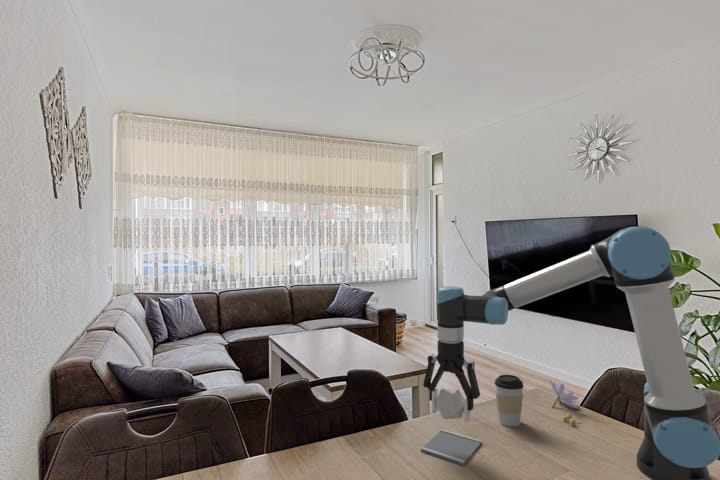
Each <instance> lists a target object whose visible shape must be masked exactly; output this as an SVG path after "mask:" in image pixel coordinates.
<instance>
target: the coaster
mask: <svg viewBox="0 0 720 480" xmlns="http://www.w3.org/2000/svg"><path fill="white" fill-rule="evenodd" d="M482 444H483V440H480V439H477V438H475V437H470V436H467V435H464V434H460V433H457V432H453V431H449V430H445V429H440V431H438V432H437V434H435V435H434V436H433V437H432V438H431V439H430V440H428V442H427V443H426V444H425V445H423V446H421V447H420V452H422V453H425V454H428V455H431V456H433V457H438V458H440V459H444V460H447V461H450V462H452V463H455V464H459V465H461V466H465V465H466V463H467V462H468V461H469V460H470V459H471V457H472V456H473V455H474V454H475V453H476V451H477V450H478V449H479V447H480V446H481V445H482Z"/></svg>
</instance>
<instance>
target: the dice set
mask: <svg viewBox="0 0 720 480" xmlns="http://www.w3.org/2000/svg"><path fill="white" fill-rule="evenodd" d="M568 420H569V426H570V427H575V425H576V424H581V421H580V420H576V419H575V418H573V415H572V414H570V413H567V414H566V415H563V416H562V422H564V423H568ZM575 423H576V424H575Z"/></svg>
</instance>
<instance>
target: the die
mask: <svg viewBox="0 0 720 480" xmlns="http://www.w3.org/2000/svg"><path fill="white" fill-rule="evenodd" d="M464 399H465V397H464V396H463V395H462V393H461V391H460V389H459V388H441V389H440V391H439V392H438V398H437V401H436V403H435V404H436V406H437V408H438V412H439V413H440V415H441V417H442V419H443V420H453V419H455V420H456V419H458V420H459V419H462V417H463V416H464V415H463V414H464Z"/></svg>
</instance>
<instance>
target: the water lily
mask: <svg viewBox="0 0 720 480" xmlns="http://www.w3.org/2000/svg"><path fill="white" fill-rule="evenodd" d="M548 381H549V383H550V384H549V386H550V388H551V390H552V391H553V392H554V394H555V398H556V399H555V401H554V402H553V403H552V406H551V408H553V407H554V408H555V406H556V404H557V402H558V401H560V402H561V401H563V402H564V403H565V404H566V405H568V406H570V407H572V408H574V409H576V410H580V408H579V407H578V406H576V405H575V404H578V402H576V400H577V401H578V400H579V397H577V396H575V395H574V392H571V391H568V392H565V385H564V383H563V382H559V381H556V382H557V383H556V384H555V381H554V380H553V379H551V378H548Z"/></svg>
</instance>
